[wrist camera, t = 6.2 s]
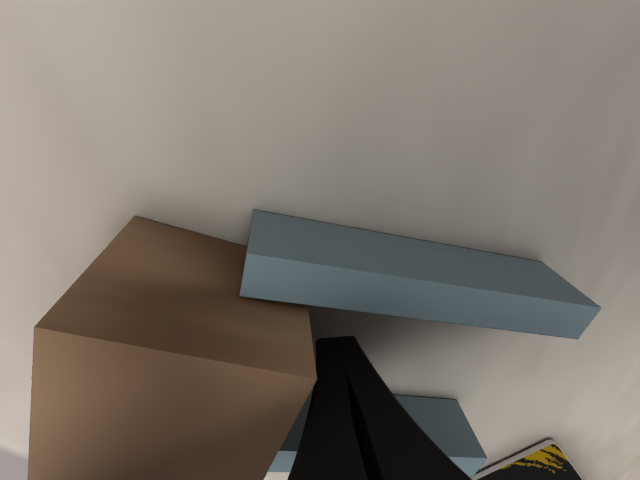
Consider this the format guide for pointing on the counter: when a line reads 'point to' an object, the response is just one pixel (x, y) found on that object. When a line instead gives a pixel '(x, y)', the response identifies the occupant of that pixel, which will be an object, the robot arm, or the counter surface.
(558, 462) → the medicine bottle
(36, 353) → the walnut block
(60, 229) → the counter surface
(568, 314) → the chute
